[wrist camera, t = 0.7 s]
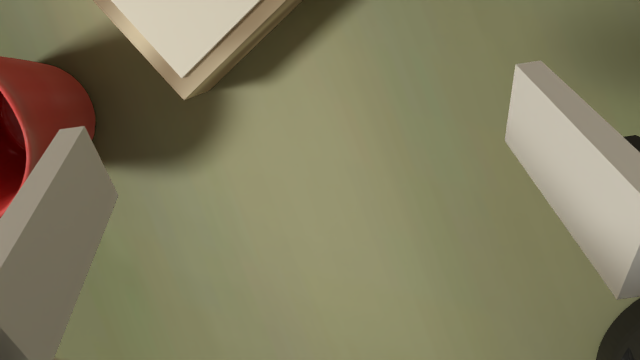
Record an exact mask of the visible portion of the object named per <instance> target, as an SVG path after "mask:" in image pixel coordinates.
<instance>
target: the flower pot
mask: <svg viewBox="0 0 640 360" xmlns="http://www.w3.org/2000/svg"><path fill="white" fill-rule="evenodd" d="M80 126H85V128H86V130H87V132H88V134H89V136H90V138H91V140H92V139H93V136H94V132H95V112H94V108H93V105H92V102H91V100H90V98H89V96H88V94H87V92H86V91H85V89H84V88H83V87H82V85H81V84H80V83H79V82H78V81H77V80H76V79H75V78H74V77H73V76H71V75H70V74H69V73H67V72H65V71H64V70H62V69H60V68H58V67H55V66H52V65H48V64H43V63H38V62H32V61H27V60H21V59H15V58H7V57H0V218H1V217H2V216H3V214H4V213H5V211H6V210H7V208H8V207H9V205H10V204H11V202H12V201H13V199H14V198H15V196H16V195H17V193H18V192H19V190H20V188H21V187H22V185H23V184H24V182H25V181H26V179H27V178H28V176H29V175H30V173H31V172H32V170H33V169H34V167H35V166H36V164H37V163H38V161H39V160H40V158H41V157H42V155H43V154H44V152H45V151H46V149H47V148H48V146H49V145H50V143H51V142H52V140H53V139H54V137H55V136H56V134H57V133H58V131H59V130H60V129H66V128H73V127H80Z"/></svg>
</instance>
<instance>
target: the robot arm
mask: <svg viewBox="0 0 640 360" xmlns="http://www.w3.org/2000/svg"><path fill="white" fill-rule="evenodd" d="M505 142H506V143H507V145H508V146H509V147H510V149H511V150H512V152H513V153H514V154H515V156H516V157H517V159H518V160H519V162H520V163H521V164H522V166H523V167H524V169H525V170H526V171H527V173H528V174H529V176H530V177H531V179H532V180H533V181H534V183H535V184H536V186H537V187H538V188H539V190H540V191H541V193H542V194H543V196H544V197H545V198H546V200H547V201H548V203H549V204H550V205H551V207H552V208H553V210H554V211H555V213H556V214H557V215H558V217H559V218H560V220H561V221H562V222H563V224H564V225H565V227H566V228H567V230H568V231H569V232H570V234H571V235H572V237H573V238H574V239H575V241H576V242H577V244H578V245H579V247H580V248H581V249H582V251H583V252H584V254H585V255H586V256H587V258H588V259H589V261H590V262H591V264H592V265H593V266H594V268H595V269H596V271H597V272H598V273H599V275H600V276H601V278H602V279H603V281H604V282H605V283H606V285H607V286H608V288H609V289H610V290H611V292H612V293H613V295H614V296H615V298H616V299H624V298H631V297H639V296H640V137H639V136H637V135H634V136H627V137H623V136H622V135H621V134H619V133H618V132H617V131H616V130H615V129H614V128H613V127H612V126H611V125H610V124H609V123H608V122H607V121H605V120H604V119H603V118H602V117H601V116H600V115H599V114H598V113H597V112H596V111H595V110H594V109H593V108H591V107H590V106H589V105H588V104H587V103H586V102H585V101H584V100H583V99H582V98H581V97H580V96H579V95H577V94H576V93H575V92H574V91H573V90H572V89H571V88H570V87H569V86H568V85H567V84H566V83H565V82H563V81H562V80H561V79H560V78H559V77H558V76H557V75H556V74H555V73H554V72H553V71H552V70H551V69H549V68H548V67H547V66H546V65H545V64H544V63H543V62H542V61H535V62H528V63H521V64H516V65H515V72H514V79H513V86H512V93H511V100H510V107H509V114H508V121H507V128H506V135H505ZM117 198H118V194H117V191H116V189H115V187H114V185H113V183H112V181H111V179H110V177H109V175H108V173H107V171H106V169H105V167H104V165H103V163H102V161H101V159H100V157H99V154H98V152H97V150H96V148H95V146H94V144H93V142H92V140H91V138H90V136H89V134H88V132H87V130H86V128H85V126H80V127H73V128H66V129H60V130H59V131H58V133H57V134H56V136H55V137H54V139H53V140H52V142H51V143H50V145H49V146H48V148H47V149H46V151H45V152H44V154H43V155H42V157H41V158H40V160H39V161H38V163H37V164H36V166H35V167H34V169H33V170H32V172H31V173H30V175H29V176H28V178H27V179H26V181H25V182H24V184H23V185H22V187H21V188H20V190H19V192H18V193H17V195H16V196H15V198H14V199H13V201H12V202H11V204H10V205H9V207H8V208H7V210H6V211H5V213H4V214H3V216H2V217H1V219H0V360H53V359H54V357H55V354H56V352H57V349H58V347H59V344H60V342H61V339H62V336H63V334H64V331H65V329H66V326H67V324H68V321H69V319H70V316H71V314H72V311H73V309H74V306H75V304H76V301H77V299H78V296H79V294H80V291H81V289H82V286H83V284H84V281H85V278H86V276H87V273H88V271H89V268H90V266H91V263H92V261H93V258H94V256H95V253H96V251H97V248H98V246H99V243H100V241H101V238H102V236H103V233H104V231H105V228H106V226H107V223H108V221H109V218H110V215H111V213H112V210H113V208H114V205H115V203H116V200H117ZM596 360H640V299H638V300H637V301H635V302H634V303H633V304H631V305H630V306H629V307H628V308H626V309H625V310H624V311H623V312H622V313H621V314H620V315H619V316H618V317H617V318H616V320H615V321H614V322H613V323H612V324H611V326H610V327H609V329H608V330H607V332H606V334H605V335H604V337H603V339H602V341H601V344H600V347H599V350H598V353H597V358H596Z"/></svg>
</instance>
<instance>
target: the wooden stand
mask: <svg viewBox="0 0 640 360" xmlns="http://www.w3.org/2000/svg"><path fill="white" fill-rule="evenodd" d="M93 1H94V2H95V3H96V4H97V5H98V7H99V8H100V9H101V10H102V11H103V12H104V13H105V14H106V15H107V16H108V17H109V19H110V20H111V21H112V22H113V23H114V24H115V25H116V26H117V27H118V28H119V30H120V31H121V32H122V33H123V34H124V35H125V36H126V37H127V38H128V39H129V40H130V42H131V43H132V44H133V45H134V46H135V47H136V48H137V49H138V50H139V51H140V53H141V54H142V55H143V56H144V57H145V58H146V59H147V60H148V61H149V62H150V64H151V65H152V66H153V67H154V68H155V69H156V70H157V71H158V72H159V73H160V74H161V76H162V77H163V78H164V79H165V80H166V81H167V82H168V83H169V84H170V85H171V87H172V88H173V89H174V90H175V91H176V92H177V93H178V94H179V95H180V96H181V97H182V99H183V100H186V99H188V98H191V97H194V96H197V95H199V94H202V93H205V92H208V91H209V90H210V89H212V88H213V87H214V86H215V85H216V84H217V83H218V82H219V81H220V80H221V79H222V78H223V77H224V76H225V75H226V74H227V73H228V72H229V71H230V70H231V69H232V68H233V67H234V66H235V65H236V64H237V63H238V62H239V61H241V60H242V59H243V58H244V57H245V56H246V55H247V54H248V53H249V52H250V51H251V50H252V49H253V48H254V47H255V46H256V45H257V44H258V43H259V42H260V41H261V40H262V39H263V38H264V37H265V36H266V35H267V34H268V33H270V32H271V31H272V30H273V29H274V28H275V27H276V26H277V25H278V24H279V23H280V22H281V21H282V20H283V19H284V18H285V17H286V16H287V15H288V14H289V13H290V12H291V11H292V10H293V9H294V8H295V7H296V6H297V5H299V4H300V3H301V2H302V1H303V0H93Z"/></svg>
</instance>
